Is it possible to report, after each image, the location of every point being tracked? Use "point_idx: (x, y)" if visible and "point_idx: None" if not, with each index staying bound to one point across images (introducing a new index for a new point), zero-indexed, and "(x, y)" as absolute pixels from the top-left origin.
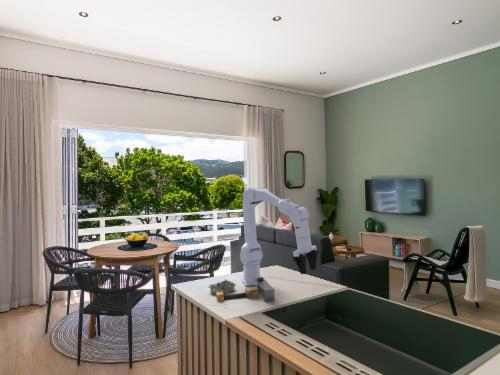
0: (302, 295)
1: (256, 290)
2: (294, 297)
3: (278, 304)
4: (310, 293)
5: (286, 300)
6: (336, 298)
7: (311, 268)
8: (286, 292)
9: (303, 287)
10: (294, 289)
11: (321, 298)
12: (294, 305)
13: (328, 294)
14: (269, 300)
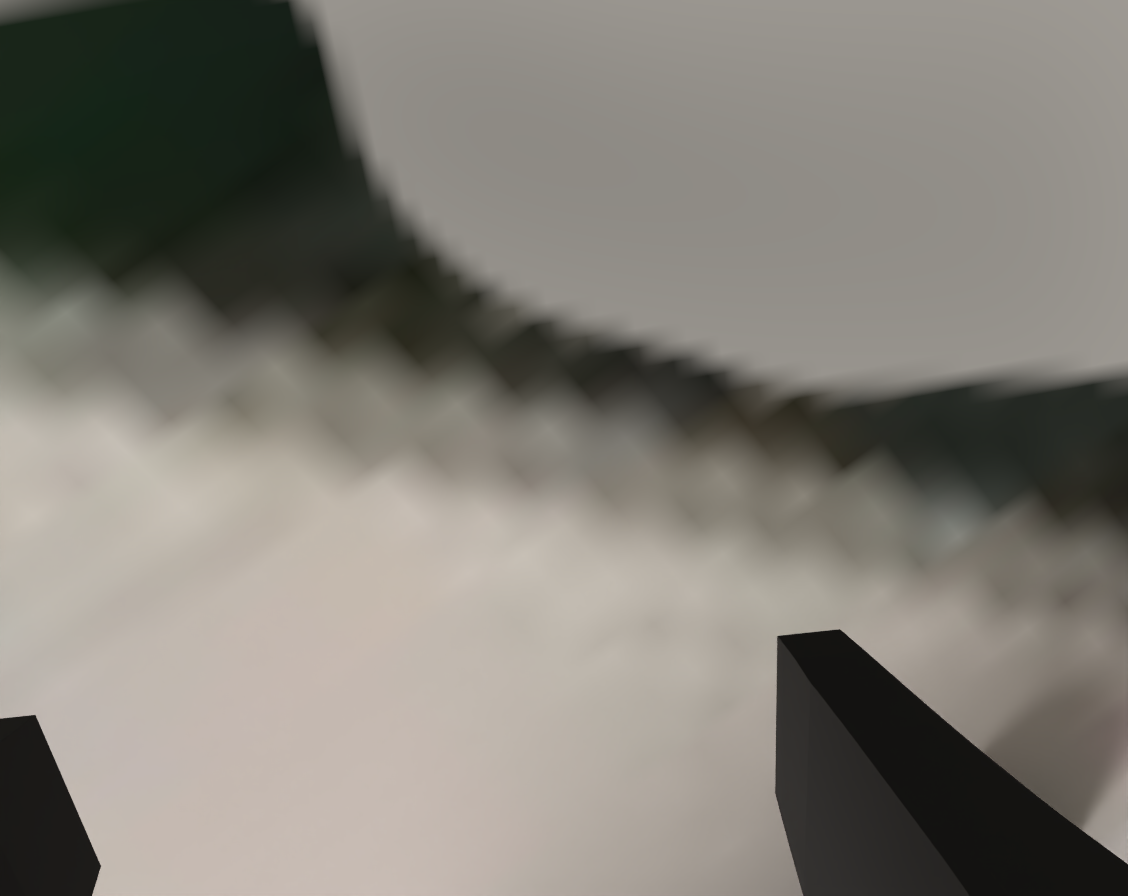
0: (462, 617)
1: None
2: (634, 655)
3: (1056, 641)
4: (275, 577)
5: None
6: (131, 12)
7: (64, 886)
8: (523, 888)
9: (110, 849)
10: (311, 890)
11: (351, 261)
12: (954, 424)
13: (61, 284)
14: None
